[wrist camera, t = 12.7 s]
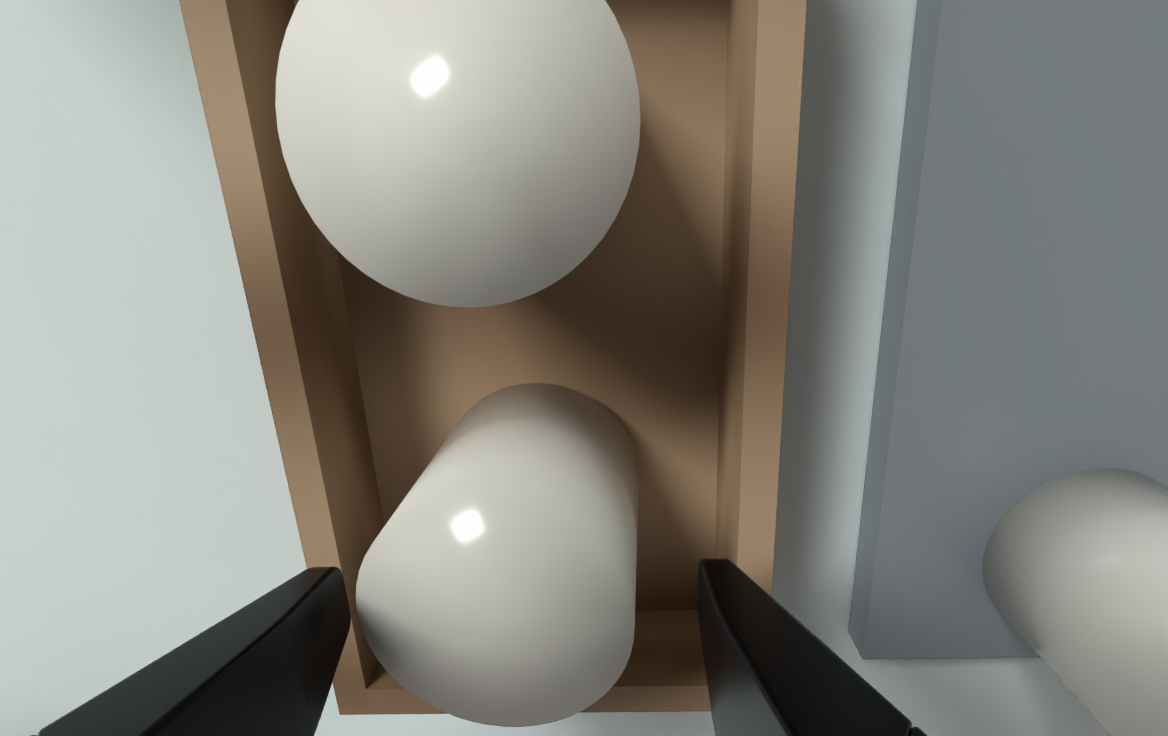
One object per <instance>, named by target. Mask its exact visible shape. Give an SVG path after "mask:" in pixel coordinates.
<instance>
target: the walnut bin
mask: <svg viewBox="0 0 1168 736" xmlns="http://www.w3.org/2000/svg"><path fill="white" fill-rule="evenodd" d="M179 1H180V5H181V10H182V14H183V19H184V23H185V28H186V32H187V37H188V41H189V45H190V50H191V54H192V59H193V63H194V68H195V72H196V77H197V81H198V86H199V90H200V94H201V99H202V103H203V108H204V112H205V117H206V121H207V126H208V130H209V134H210V139H211V143H212V148H213V152H214V157H215V161H216V166H217V170H218V175H219V179H220V183H221V188H222V192H223V197H224V201H225V206H226V210H227V215H228V219H229V223H230V228H231V232H232V237H233V241H234V246H235V250H236V255H237V259H238V264H239V268H240V272H241V277H242V281H243V286H244V290H245V295H246V299H247V304H248V308H249V312H250V317H251V321H252V326H253V330H254V335H255V339H256V344H257V348H258V353H259V357H260V361H261V366H262V370H263V375H264V379H265V384H266V388H267V393H268V397H269V401H270V406H271V410H272V415H273V419H274V424H275V428H276V433H277V437H278V442H279V446H280V450H281V455H282V459H283V464H284V468H285V473H286V477H287V482H288V486H289V490H290V495H291V499H292V504H293V508H294V513H295V517H296V522H297V526H298V531H299V535H300V539H301V544H302V548H303V553H304V557H305V562H306V566H307V569H308V568H311V567H337V568H339V569H340V570H341V572H342V574H343V577H344V582H345V587H346V592H347V597H348V602H349V607H350V612H351V624H350V630H349V633H348V636H347V639H346V642H345V645H344V648H343V651H342V654H341V657H340V660H339V663H338V666H337V669H336V672H335V675H334V678H333V681H332V682H333V686H334V691H335V695H336V700H337V704H338V709H339V713H340V715H354V714H448V713H446V712H443V711H441V710H439V709H437V708H435V707H433V706H431V705H429V704H428V703H426V702H424V701H422V700H421V699H419V698H418V697H416V696H415V695H413V694H412V693H410V692H409V691H408V690H407V689H405V688H404V687H403V686H402V685H401V684H399V683H398V682H397V681H396V680H395V679H394V678H393V677H392V676H391V675H390V674H389V673H388V672H387V671H386V670H385V668H384V667H383V666H382V664H381V663H380V662H379V661H378V659H377V658H376V657H375V655H374V653H373V651H372V650H371V648H370V646H369V645H368V643H367V641H366V638H365V636H364V634H363V631H362V629H361V625H360V622H359V618H358V614H357V606H356V584H357V579H358V574H359V570H360V567H361V565H362V562H363V559H364V557H365V555H366V553H367V552H368V550H369V548H370V547H371V545H372V543H373V542H374V540H375V539H376V538H377V536H378V535H379V533H380V532H381V531H382V529H383V528H384V526H385V525H386V524H387V522H388V521H389V519H390V518H391V517H392V515H393V514H394V512H395V511H396V510H397V508H398V507H399V505H400V504H401V503H402V501H403V500H404V498H405V497H406V495H407V494H408V493H409V491H410V490H411V488H412V487H413V486H414V484H415V483H416V481H417V480H418V479H419V477H420V476H421V474H422V473H423V472H424V470H425V469H426V467H427V466H428V465H429V463H430V462H431V460H432V459H433V458H434V456H435V455H436V453H437V452H438V451H439V449H440V448H441V446H442V445H443V443H444V442H445V441H446V439H447V438H448V436H449V435H450V434H451V432H452V431H453V429H454V428H455V427H456V425H457V424H458V422H459V421H460V420H461V418H462V417H463V416H464V415H465V413H466V412H467V411H468V410H469V409H470V408H471V407H472V406H473V405H474V404H475V403H477V402H478V401H479V400H481V399H482V398H484V397H485V396H487V395H489V394H491V393H493V392H495V391H497V390H500V389H503V388H506V387H509V386H513V385H518V384H524V383H547V384H554V385H559V386H563V387H567V388H570V389H573V390H576V391H578V392H580V393H582V394H585V395H587V396H588V397H590V398H592V399H593V400H595V401H597V402H598V403H599V404H601V405H602V406H603V407H605V408H606V409H607V410H608V411H609V412H610V413H611V414H612V415H613V416H614V417H615V418H616V419H617V420H618V421H619V423H620V424H621V425H622V427H623V428H624V429H625V431H626V433H627V434H628V436H629V438H630V440H631V442H632V445H633V447H634V450H635V452H636V457H637V461H638V469H639V493H638V528H637V563H636V597H635V629H634V642H633V646H632V650H631V654H630V657H629V660H628V662H627V664H626V667H625V669H624V671H623V672H622V674H621V675H620V677H619V679H618V680H617V682H616V683H615V684H614V685H613V686H612V687H611V689H610V690H609V691H608V692H607V693H606V694H605V695H604V696H602V697H601V698H600V699H599V700H598V701H596V702H595V703H594V704H592V705H590V706H589V707H587V708H586V709H584V710H583V711H580V712H669V711H711V705H710V698H709V691H708V685H707V678H706V671H705V664H704V657H703V650H702V643H701V636H700V629H699V621H698V565H699V562H700V560H701V559H705V558H727V559H729V560H731V561H732V562H733V563H734V564H736V565H737V566H738V567H739V568H740V569H741V570H742V571H743V572H744V573H746V574H747V575H748V576H749V577H750V578H751V579H752V580H753V581H755V582H756V583H757V584H758V585H759V586H760V587H761V588H762V589H763V590H765V591H766V592H767V593H768V594H769V595H770V596H772V579H773V562H774V545H775V528H776V511H777V494H778V478H779V461H780V444H781V427H782V410H783V393H784V376H785V359H786V342H787V326H788V309H789V292H790V275H791V258H792V241H793V224H794V207H795V190H796V174H797V157H798V140H799V123H800V106H801V89H802V72H803V55H804V38H805V22H806V5H807V0H605V1H606V2H607V4H608V6H609V7H610V9H611V11H612V12H613V14H614V15H615V17H616V20H617V22H618V24H619V26H620V29H621V31H622V33H623V35H624V37H625V40H626V42H627V45H628V49H629V52H630V55H631V58H632V62H633V65H634V68H635V74H636V80H637V85H638V91H639V102H640V121H641V122H640V136H639V149H638V154H637V159H636V164H635V169H634V174H633V177H632V180H631V183H630V186H629V189H628V192H627V195H626V197H625V200H624V202H623V204H622V206H621V208H620V210H619V212H618V214H617V216H616V219H615V220H614V222H613V223H612V225H611V226H610V228H609V229H608V231H607V233H606V234H605V236H604V237H603V239H602V240H601V241H600V242H599V243H598V245H597V246H596V247H595V248H594V249H593V251H592V252H591V253H590V254H589V255H588V256H587V257H586V258H585V259H584V260H583V261H582V262H581V263H580V264H579V265H578V266H576V267H575V268H574V269H573V270H572V271H571V272H570V273H568V274H567V275H565V276H564V277H562V278H561V279H559V280H558V281H557V282H555V283H554V284H552V285H550V286H548V287H546V288H544V289H542V290H540V291H539V292H537V293H535V294H533V295H530V296H527V297H524V298H521V299H518V300H516V301H513V302H508V303H503V304H499V305H494V306H485V307H471V308H466V307H450V306H443V305H437V304H432V303H427V302H423V301H420V300H417V299H414V298H411V297H408V296H405V295H403V294H400V293H398V292H396V291H394V290H392V289H390V288H388V287H386V286H383V285H382V284H380V283H379V282H377V281H375V280H374V279H372V278H371V277H369V276H367V275H366V274H364V273H363V272H362V271H361V270H359V269H358V268H357V267H356V266H354V265H353V264H352V263H351V262H349V261H348V260H347V259H346V258H345V257H344V256H343V255H342V254H341V253H340V252H339V251H338V250H337V249H336V248H335V247H334V246H333V245H332V244H331V243H330V242H329V241H328V239H327V238H326V237H325V236H324V234H323V233H322V232H321V231H320V229H319V228H318V227H317V225H316V224H315V223H314V221H313V220H312V218H311V216H310V215H309V213H308V211H307V210H306V208H305V207H304V205H303V203H302V202H301V199H300V197H299V195H298V193H297V191H296V189H295V187H294V184H293V182H292V180H291V177H290V174H289V171H288V169H287V166H286V163H285V160H284V157H283V153H282V148H281V143H280V139H279V134H278V128H277V117H276V107H275V98H276V75H277V68H278V62H279V55H280V50H281V47H282V43H283V40H284V36H285V32H286V29H287V26H288V24H289V22H290V19H291V17H292V15H293V12H294V10H295V7H296V5H297V3H298V2H299V0H179Z"/></svg>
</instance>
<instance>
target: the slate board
mask: <svg viewBox="0 0 1168 736" xmlns="http://www.w3.org/2000/svg"><path fill="white" fill-rule="evenodd" d="M1098 468H1119V469H1125V470H1131V471H1135V472H1138V473H1142V474H1144V475H1147V476H1149V477H1151V478H1153V479H1155V480H1157V481H1159V482H1161V483H1162V484H1164V485H1166V486H1168V0H917V8H916V17H915V26H914V36H913V45H912V54H911V63H910V72H909V81H908V91H907V100H906V109H905V118H904V127H903V136H902V145H901V155H900V164H899V173H898V182H897V191H896V200H895V210H894V219H893V228H892V237H891V246H890V255H889V264H888V274H887V283H886V292H885V301H884V310H883V319H882V329H881V338H880V347H879V356H878V365H877V374H876V383H875V393H874V402H873V411H872V420H871V429H870V438H869V448H868V457H867V466H866V475H865V484H864V493H863V502H862V512H861V521H860V530H859V539H858V548H857V557H856V566H855V576H854V585H853V594H852V603H851V612H850V621H849V631H848V632H849V634H850V636H851V638H852V640H853V642H854V644H855V646H856V648H857V649H858V651H859V653H860V655H861V657H862V659H936V658H1012V657H1040V656H1039V655H1038V654H1037V652H1036V651H1035V650H1034V649H1033V648H1032V647H1031V646H1030V645H1029V644H1028V642H1027V641H1026V640H1025V639H1024V638H1023V637H1022V636H1021V635H1020V633H1019V632H1018V631H1017V630H1016V629H1015V628H1014V627H1013V626H1012V624H1011V623H1010V622H1009V621H1008V620H1007V619H1006V618H1005V617H1004V615H1003V614H1002V613H1001V612H1000V611H999V610H998V609H997V608H996V607H995V605H994V604H993V602H992V601H991V599H990V598H989V596H988V594H987V591H986V589H985V585H984V581H983V573H982V565H983V556H984V552H985V549H986V545H987V543H988V541H989V538H990V536H991V534H992V532H993V531H994V529H995V527H996V526H997V524H998V523H999V521H1000V520H1001V519H1002V518H1003V516H1004V515H1005V514H1006V513H1007V512H1008V511H1009V510H1010V509H1011V508H1012V507H1013V506H1014V505H1015V504H1016V503H1017V502H1018V501H1019V500H1021V499H1022V498H1023V497H1024V496H1026V495H1027V494H1029V493H1030V492H1031V491H1033V490H1034V489H1036V488H1038V487H1040V486H1041V485H1043V484H1045V483H1047V482H1049V481H1051V480H1054V479H1056V478H1059V477H1061V476H1064V475H1067V474H1071V473H1074V472H1078V471H1083V470H1088V469H1098Z"/></svg>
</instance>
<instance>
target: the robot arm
mask: <svg viewBox="0 0 1168 736" xmlns="http://www.w3.org/2000/svg"><path fill="white" fill-rule="evenodd" d="M698 621H699V629H700V636H701V643H702V650H703V657H704V664H705V671H706V678H707V685H708V691H709V698H710V705H711V712H712V718H713V724H714V729H715V734H716V736H927V735H926V734H925V733H924V732H923V731H921V730H920V729H919V728H918V727H913V728H912V723H911V721H910V720H909V719H908V718H907V717H905V716H904V715H903V714H902V713H901V712H900V711H899V710H898V709H897V708H895V707H894V706H893V705H892V704H891V703H890V702H889V701H888V700H886V699H885V698H884V697H883V696H882V695H881V694H880V693H879V692H878V691H876V690H875V689H874V688H873V687H872V686H871V685H870V684H869V683H867V682H866V681H865V680H864V679H863V678H862V677H861V676H860V675H859V674H857V673H856V672H855V671H854V670H853V669H852V668H851V667H850V666H848V665H847V664H846V663H845V662H844V661H843V660H842V659H841V658H839V657H838V656H837V655H836V654H835V653H834V652H833V651H832V650H831V649H829V648H828V647H827V646H826V645H825V644H824V643H823V642H822V641H820V640H819V639H818V638H817V637H816V636H815V635H814V634H813V633H812V632H810V631H809V630H808V629H807V628H806V627H805V626H804V625H803V624H801V623H800V622H799V621H798V620H797V619H796V618H795V617H794V616H793V615H791V614H790V613H789V612H788V611H787V610H786V609H785V608H784V607H782V606H781V605H780V604H779V603H778V602H777V601H776V600H775V599H774V598H772V597H771V596H770V595H769V594H768V593H767V592H766V591H765V590H763V589H762V588H761V587H760V586H759V585H758V584H757V583H756V582H755V581H753V580H752V579H751V578H750V577H749V576H748V575H747V574H746V573H744V572H743V571H742V570H741V569H740V568H739V567H738V566H737V565H736V564H734V563H733V562H732V561H731V560H729V559H727V558H705V559H701V560H700V562H699V565H698ZM350 624H351V612H350V607H349V602H348V597H347V592H346V587H345V582H344V577H343V574H342V572H341V570H340V569H339V568H337V567H311V568H308V569H306V570H305V571H303V572H301V573H300V574H298V575H296V576H295V577H293V578H291V579H290V580H288V581H286V582H285V583H283V584H281V585H280V586H278V587H277V588H275V589H273V590H272V591H270V592H268V593H267V594H265V595H263V596H262V597H260V598H258V599H257V600H255V601H253V602H252V603H250V604H248V605H247V606H245V607H243V608H242V609H240V610H238V611H237V612H235V613H233V614H232V615H230V616H228V617H227V618H225V619H224V620H222V621H220V622H219V623H217V624H215V625H214V626H212V627H210V628H209V629H207V630H205V631H204V632H202V633H200V634H199V635H197V636H195V637H194V638H192V639H190V640H189V641H187V642H185V643H184V644H182V645H180V646H179V647H177V648H175V649H174V650H172V651H171V652H169V653H167V654H166V655H164V656H162V657H161V658H159V659H157V660H156V661H154V662H152V663H151V664H149V665H147V666H146V667H144V668H142V669H141V670H139V671H137V672H136V673H134V674H132V675H131V676H129V677H127V678H126V679H124V680H122V681H121V682H119V683H118V684H116V685H114V686H113V687H111V688H109V689H108V690H106V691H104V692H103V693H101V694H99V695H98V696H96V697H94V698H93V699H91V700H89V701H88V702H86V703H84V704H83V705H81V706H79V707H78V708H76V709H74V710H73V711H71V712H69V713H68V714H66V715H65V716H63V717H61V718H60V719H58V720H56V721H55V722H53V723H51V724H50V725H48V726H46V727H45V728H43V729H41V730H40V732H39V733H38V736H314V734H315V731H316V729H317V726H318V723H319V720H320V718H321V715H322V712H323V709H324V706H325V703H326V700H327V696H328V693H329V690H330V687H331V684H332V681H333V678H334V675H335V672H336V669H337V666H338V663H339V660H340V657H341V654H342V651H343V648H344V645H345V642H346V639H347V636H348V633H349V630H350ZM31 736H36V735H31Z"/></svg>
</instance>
